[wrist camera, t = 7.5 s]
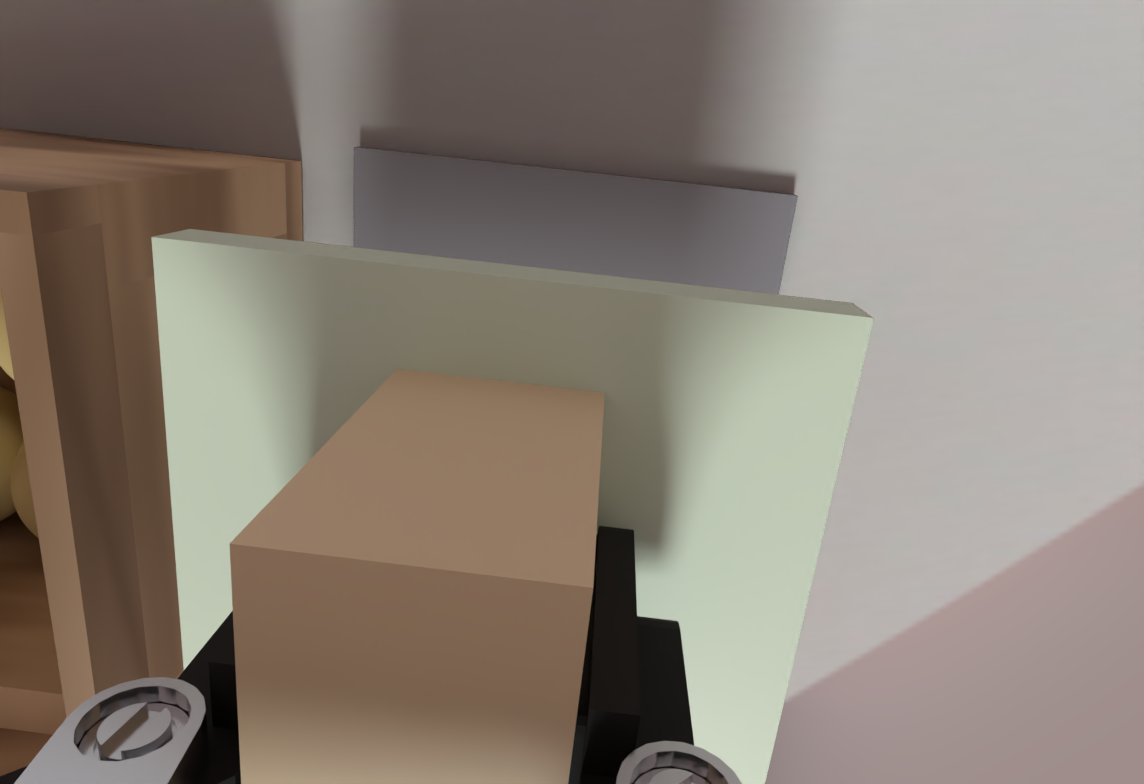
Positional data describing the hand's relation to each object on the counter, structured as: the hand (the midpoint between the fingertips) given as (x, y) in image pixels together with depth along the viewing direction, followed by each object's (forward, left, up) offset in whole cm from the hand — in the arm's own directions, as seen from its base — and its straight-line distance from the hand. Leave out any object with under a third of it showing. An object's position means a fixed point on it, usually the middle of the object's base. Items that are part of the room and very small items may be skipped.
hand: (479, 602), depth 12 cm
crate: (+13, +1, -10) cm, 16 cm away
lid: (0, 0, -2) cm, 2 cm away
